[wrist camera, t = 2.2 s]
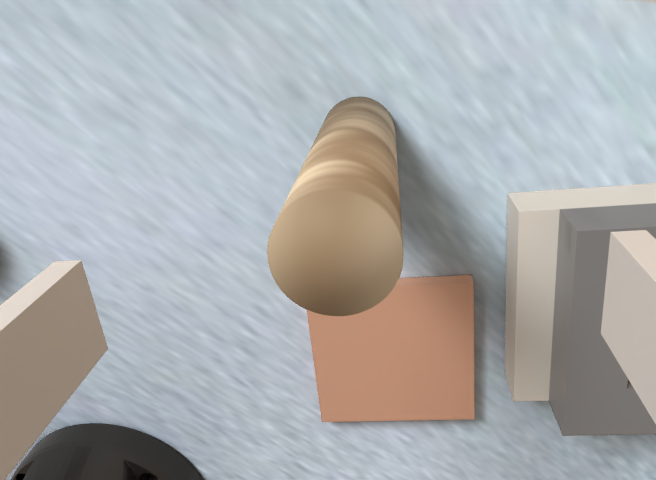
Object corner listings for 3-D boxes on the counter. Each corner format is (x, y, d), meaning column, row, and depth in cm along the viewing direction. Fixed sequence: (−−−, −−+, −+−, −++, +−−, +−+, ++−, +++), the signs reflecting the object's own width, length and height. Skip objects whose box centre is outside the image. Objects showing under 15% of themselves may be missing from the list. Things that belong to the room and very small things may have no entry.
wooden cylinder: (326, 171, 32) (277, 318, 18) (318, 100, 31) (257, 197, 16) (397, 166, 32) (406, 313, 17) (393, 93, 30) (399, 187, 16)
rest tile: (323, 411, 39) (322, 421, 38) (306, 282, 35) (304, 290, 34) (472, 408, 38) (474, 419, 37) (471, 274, 34) (473, 282, 33)
